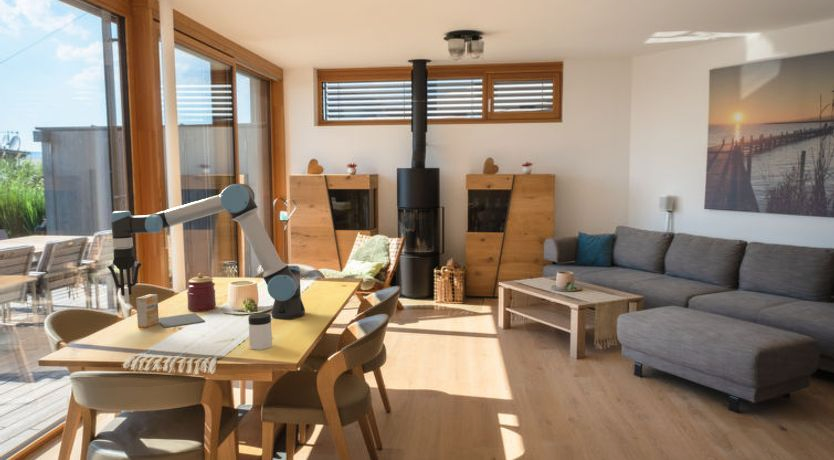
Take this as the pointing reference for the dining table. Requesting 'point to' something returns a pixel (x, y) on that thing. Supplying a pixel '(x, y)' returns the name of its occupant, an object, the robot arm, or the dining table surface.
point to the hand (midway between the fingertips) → (126, 302)
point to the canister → (201, 293)
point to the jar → (260, 331)
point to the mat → (180, 320)
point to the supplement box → (147, 310)
